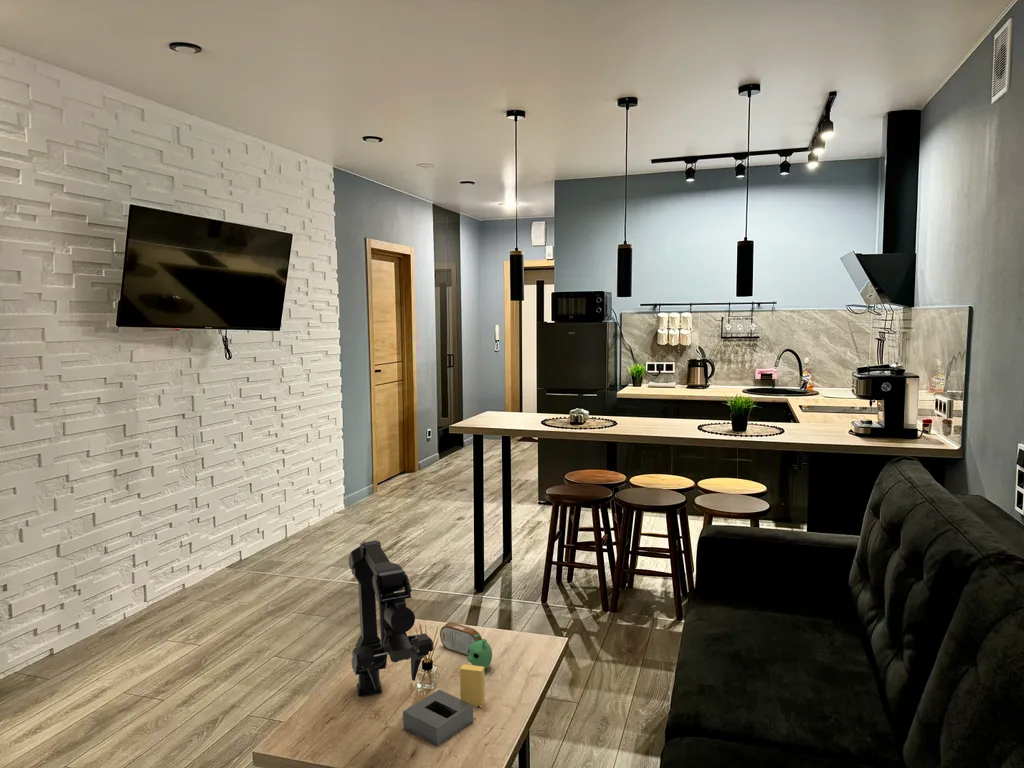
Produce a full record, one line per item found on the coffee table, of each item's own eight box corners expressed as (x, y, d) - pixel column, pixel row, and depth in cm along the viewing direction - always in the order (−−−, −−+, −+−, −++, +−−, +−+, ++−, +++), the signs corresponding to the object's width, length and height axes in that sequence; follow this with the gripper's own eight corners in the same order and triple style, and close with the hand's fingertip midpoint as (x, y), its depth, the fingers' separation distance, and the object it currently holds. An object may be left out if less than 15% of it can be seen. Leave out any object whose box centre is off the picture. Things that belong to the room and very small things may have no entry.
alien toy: (462, 668, 207) (461, 635, 206) (483, 660, 211) (483, 628, 210) (475, 678, 201) (474, 644, 200) (497, 670, 206) (496, 637, 205)
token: (460, 704, 188) (460, 668, 187) (463, 699, 190) (462, 664, 189) (482, 707, 186) (481, 671, 185) (484, 702, 189) (484, 666, 188)
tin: (483, 656, 214) (483, 629, 213) (477, 660, 211) (477, 633, 211) (444, 644, 222) (444, 618, 221) (438, 648, 219) (438, 622, 219)
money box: (403, 728, 177) (402, 711, 177) (439, 705, 187) (439, 689, 187) (437, 746, 170) (436, 728, 169) (473, 721, 180) (472, 704, 179)
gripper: (361, 638, 158) (364, 707, 158) (439, 622, 166) (442, 688, 166) (350, 624, 168) (353, 689, 168) (424, 609, 176) (427, 671, 176)
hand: (395, 684), depth 170 cm, fingers open, 9 cm apart
